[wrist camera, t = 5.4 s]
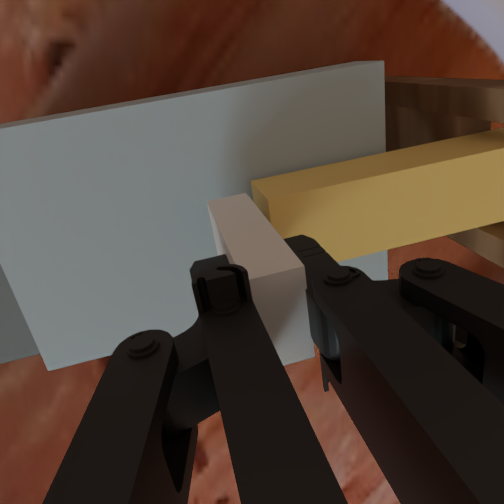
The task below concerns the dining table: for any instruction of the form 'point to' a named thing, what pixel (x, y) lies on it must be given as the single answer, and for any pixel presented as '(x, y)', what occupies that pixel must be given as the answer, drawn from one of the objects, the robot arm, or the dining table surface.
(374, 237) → the yellow block
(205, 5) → the dining table surface
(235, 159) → the lid
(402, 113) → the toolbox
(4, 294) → the mat
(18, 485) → the dining table surface
